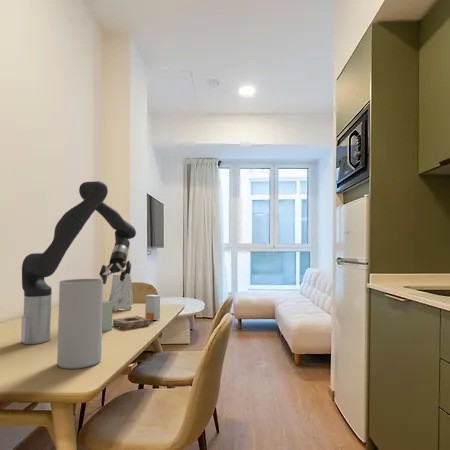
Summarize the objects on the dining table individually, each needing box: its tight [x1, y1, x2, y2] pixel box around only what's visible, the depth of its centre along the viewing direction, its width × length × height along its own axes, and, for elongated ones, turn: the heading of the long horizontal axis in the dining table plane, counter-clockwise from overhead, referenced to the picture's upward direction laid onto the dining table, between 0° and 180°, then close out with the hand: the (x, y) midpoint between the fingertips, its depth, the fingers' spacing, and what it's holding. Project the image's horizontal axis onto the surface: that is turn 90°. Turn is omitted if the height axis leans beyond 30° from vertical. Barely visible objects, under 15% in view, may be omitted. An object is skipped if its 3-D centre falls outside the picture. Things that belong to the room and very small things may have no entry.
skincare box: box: [144, 294, 161, 321], centre depth 171 cm, size 6×4×12 cm
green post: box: [102, 300, 113, 332], centre depth 150 cm, size 4×4×12 cm
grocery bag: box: [109, 272, 133, 310], centre depth 213 cm, size 32×14×23 cm, turn 15°
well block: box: [112, 315, 151, 330], centre depth 158 cm, size 12×12×3 cm
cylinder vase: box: [56, 278, 104, 370], centre depth 107 cm, size 12×12×25 cm
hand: (112, 281), depth 158 cm, fingers open, 8 cm apart
